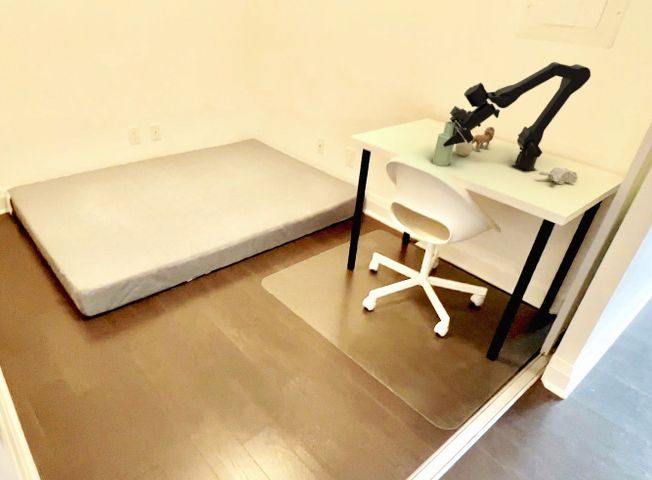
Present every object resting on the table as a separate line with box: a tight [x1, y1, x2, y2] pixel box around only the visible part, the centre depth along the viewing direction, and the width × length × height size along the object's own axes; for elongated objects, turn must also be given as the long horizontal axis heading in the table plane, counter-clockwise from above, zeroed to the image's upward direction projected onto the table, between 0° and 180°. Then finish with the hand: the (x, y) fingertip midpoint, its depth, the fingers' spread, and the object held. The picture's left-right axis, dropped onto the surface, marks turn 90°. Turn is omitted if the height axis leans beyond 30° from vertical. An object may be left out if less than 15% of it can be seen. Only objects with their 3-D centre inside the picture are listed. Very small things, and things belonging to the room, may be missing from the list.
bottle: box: [432, 121, 455, 167], centre depth 172 cm, size 7×7×16 cm
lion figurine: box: [471, 126, 496, 152], centre depth 190 cm, size 15×5×9 cm, turn 129°
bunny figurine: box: [538, 166, 579, 185], centre depth 162 cm, size 10×5×15 cm
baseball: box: [454, 140, 474, 157], centre depth 183 cm, size 7×7×7 cm
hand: (441, 142), depth 172 cm, fingers closed on bottle, 7 cm apart
